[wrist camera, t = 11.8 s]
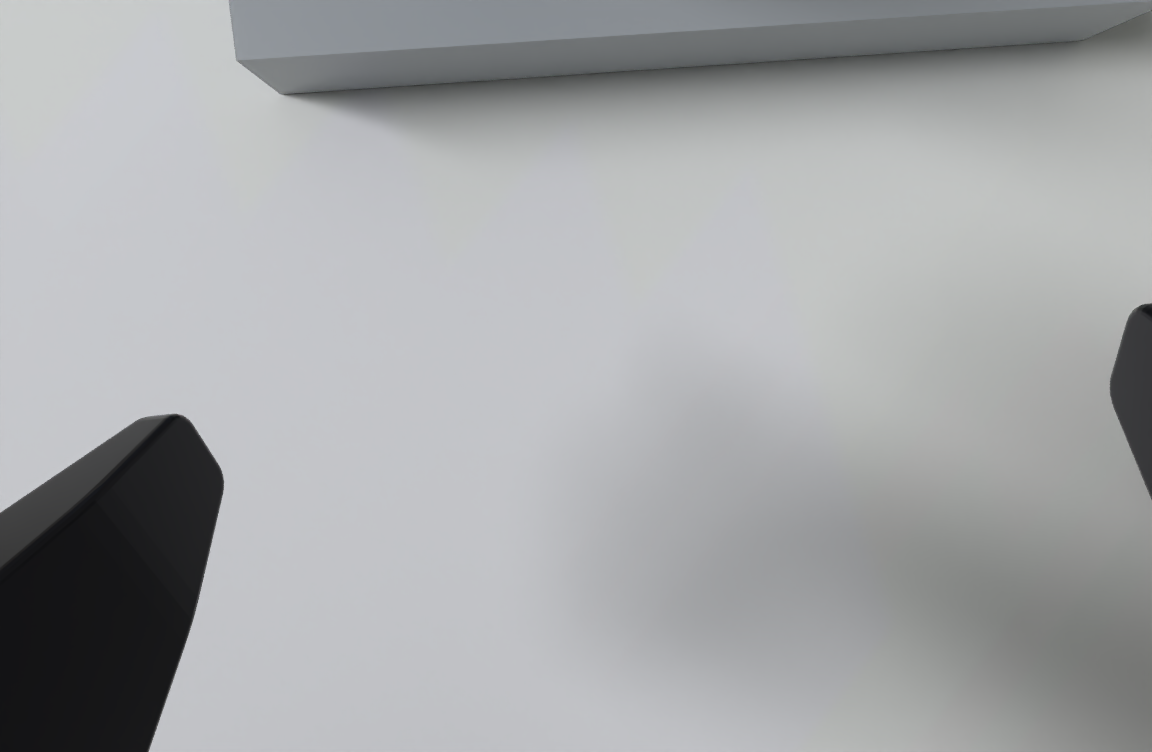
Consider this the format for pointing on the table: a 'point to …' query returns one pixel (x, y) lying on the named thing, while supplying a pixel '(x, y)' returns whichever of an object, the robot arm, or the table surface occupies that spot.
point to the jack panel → (619, 35)
